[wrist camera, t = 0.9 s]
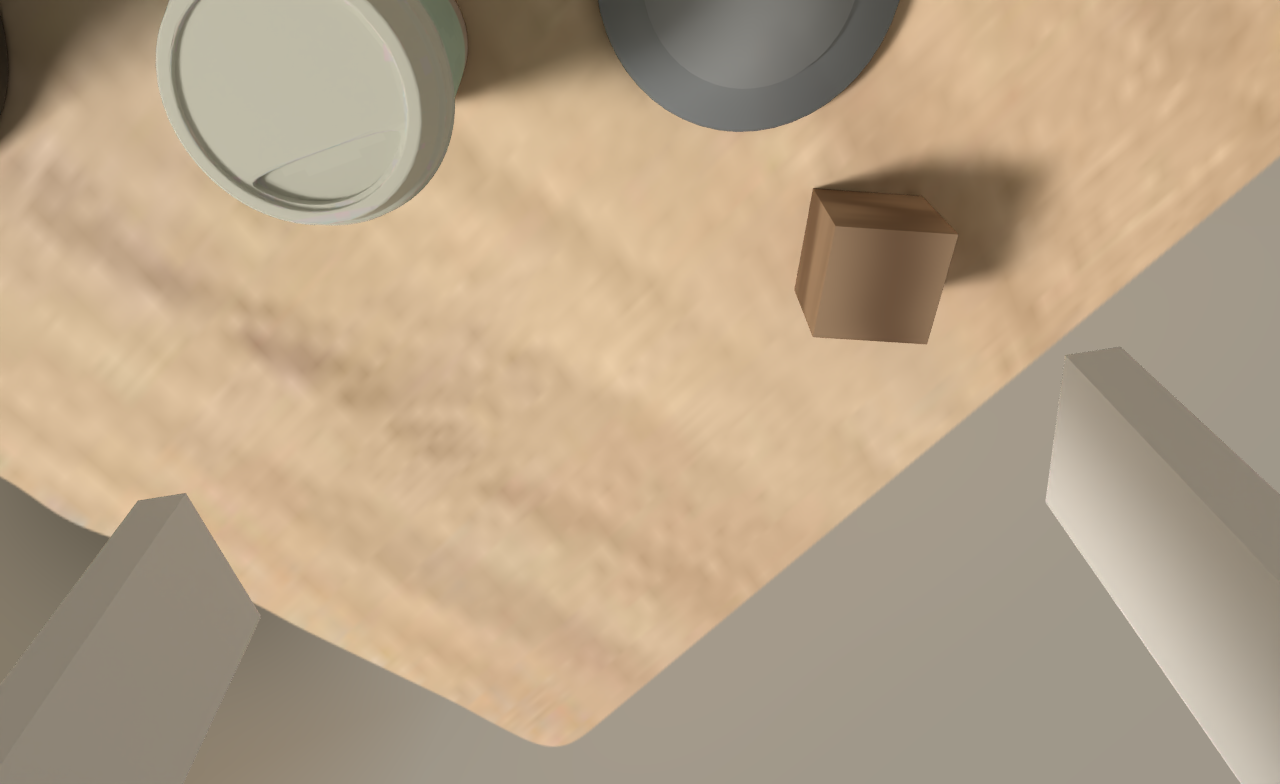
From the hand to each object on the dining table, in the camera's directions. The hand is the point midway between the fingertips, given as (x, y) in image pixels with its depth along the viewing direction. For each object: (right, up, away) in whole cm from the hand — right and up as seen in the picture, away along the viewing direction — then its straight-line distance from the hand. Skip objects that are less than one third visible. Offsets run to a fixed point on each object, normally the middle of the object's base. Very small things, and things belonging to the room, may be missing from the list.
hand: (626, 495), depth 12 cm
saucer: (+5, +18, +20) cm, 27 cm away
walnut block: (+10, +9, +26) cm, 29 cm away
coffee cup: (-10, +16, +21) cm, 28 cm away
